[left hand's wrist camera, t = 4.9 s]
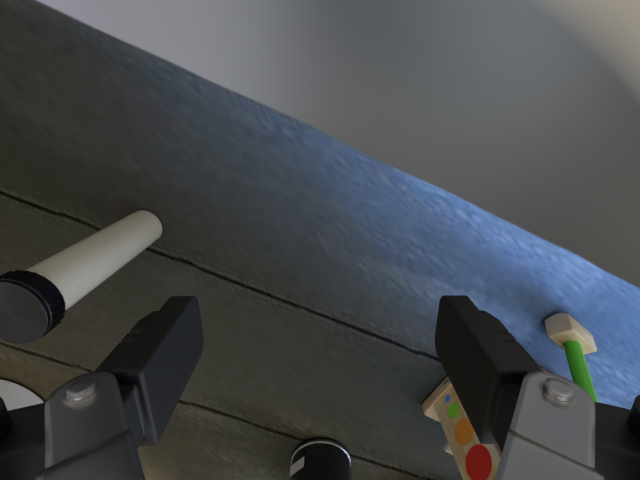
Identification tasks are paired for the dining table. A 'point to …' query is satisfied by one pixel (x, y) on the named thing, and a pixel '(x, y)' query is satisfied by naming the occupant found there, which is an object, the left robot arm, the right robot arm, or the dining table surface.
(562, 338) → the pounding bench toy
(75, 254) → the white cylindrical bottle
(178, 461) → the dining table surface
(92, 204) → the dining table surface
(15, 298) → the lid
